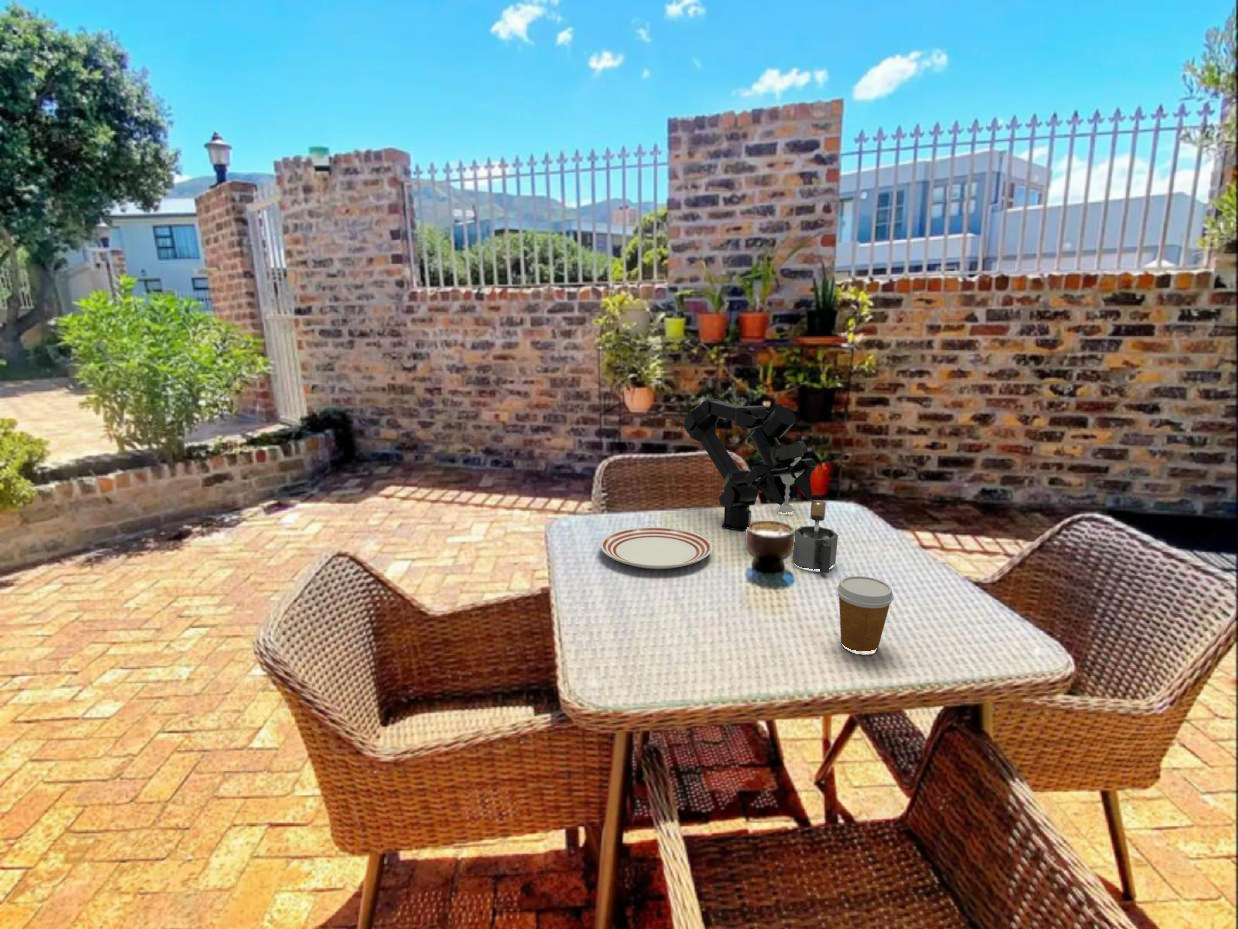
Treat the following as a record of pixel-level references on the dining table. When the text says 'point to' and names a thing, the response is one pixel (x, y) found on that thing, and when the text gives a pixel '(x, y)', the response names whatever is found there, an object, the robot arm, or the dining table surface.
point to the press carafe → (815, 548)
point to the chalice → (788, 489)
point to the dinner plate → (656, 547)
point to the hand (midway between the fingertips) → (796, 501)
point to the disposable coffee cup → (863, 611)
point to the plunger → (817, 514)
